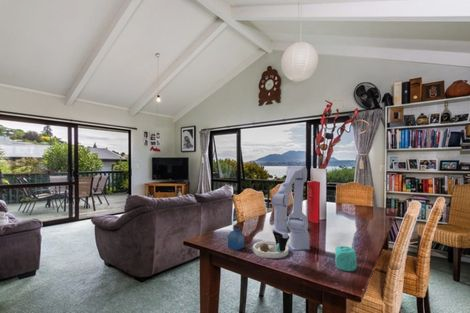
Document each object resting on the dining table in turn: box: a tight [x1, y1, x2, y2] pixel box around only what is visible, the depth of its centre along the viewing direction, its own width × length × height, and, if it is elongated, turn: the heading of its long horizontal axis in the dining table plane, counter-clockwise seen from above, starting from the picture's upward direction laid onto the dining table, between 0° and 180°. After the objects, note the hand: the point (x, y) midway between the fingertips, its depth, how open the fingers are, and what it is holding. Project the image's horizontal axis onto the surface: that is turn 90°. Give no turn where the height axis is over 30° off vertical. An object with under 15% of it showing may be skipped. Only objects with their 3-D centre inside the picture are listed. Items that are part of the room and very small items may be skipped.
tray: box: [252, 240, 290, 259], centre depth 127 cm, size 18×18×2 cm
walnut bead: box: [260, 243, 269, 252], centre depth 124 cm, size 4×4×4 cm
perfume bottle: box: [227, 224, 245, 251], centre depth 133 cm, size 6×6×12 cm
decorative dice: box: [334, 245, 357, 272], centre depth 109 cm, size 8×8×8 cm
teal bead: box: [276, 243, 284, 253], centre depth 114 cm, size 4×4×4 cm
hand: (280, 248), depth 114 cm, fingers closed on teal bead, 4 cm apart
